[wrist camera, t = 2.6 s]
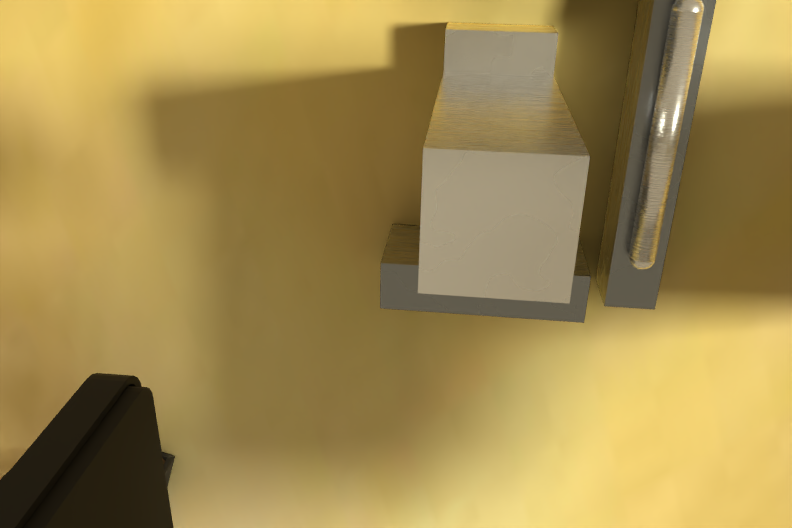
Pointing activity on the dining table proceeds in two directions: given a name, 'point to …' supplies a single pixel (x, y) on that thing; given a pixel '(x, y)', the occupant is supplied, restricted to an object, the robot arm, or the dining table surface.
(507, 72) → the steel post
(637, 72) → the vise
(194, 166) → the dining table surface
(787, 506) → the dining table surface
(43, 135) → the dining table surface
